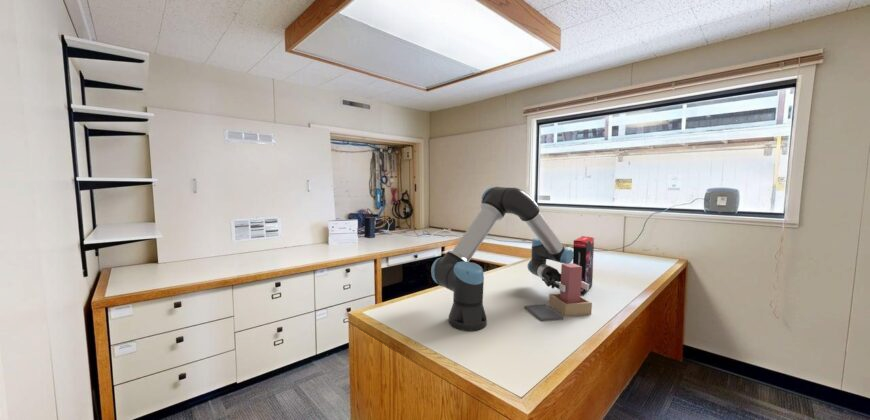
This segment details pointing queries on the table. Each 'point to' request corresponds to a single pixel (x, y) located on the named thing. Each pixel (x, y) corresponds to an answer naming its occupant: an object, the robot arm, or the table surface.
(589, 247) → the graphics card box
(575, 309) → the hollow rectangular frame
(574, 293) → the pink rectangular block
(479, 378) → the table surface
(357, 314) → the table surface
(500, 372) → the table surface
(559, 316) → the rubber mat
